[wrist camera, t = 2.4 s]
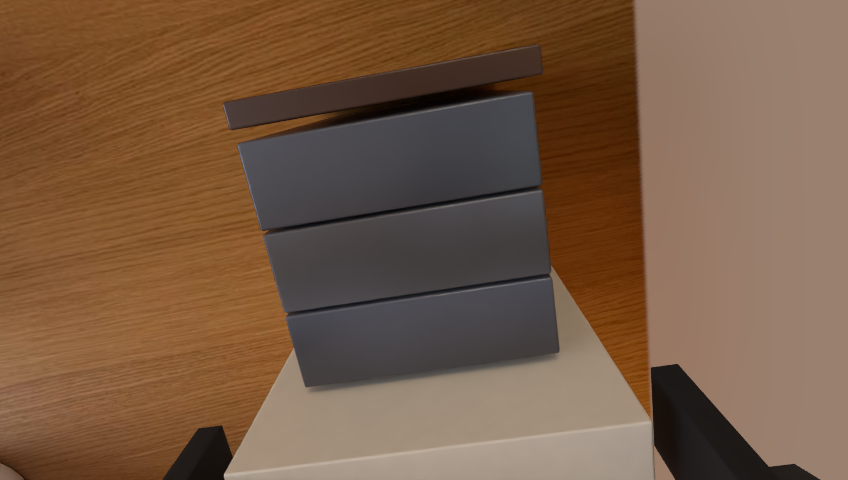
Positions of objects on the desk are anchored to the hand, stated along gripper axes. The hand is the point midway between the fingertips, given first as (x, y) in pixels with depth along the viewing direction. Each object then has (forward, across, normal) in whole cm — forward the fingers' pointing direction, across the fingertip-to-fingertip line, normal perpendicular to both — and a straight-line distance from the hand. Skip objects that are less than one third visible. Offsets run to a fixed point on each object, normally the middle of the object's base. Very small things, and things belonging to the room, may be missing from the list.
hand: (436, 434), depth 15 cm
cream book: (+14, 0, 0) cm, 14 cm away
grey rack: (+14, 0, +4) cm, 14 cm away
